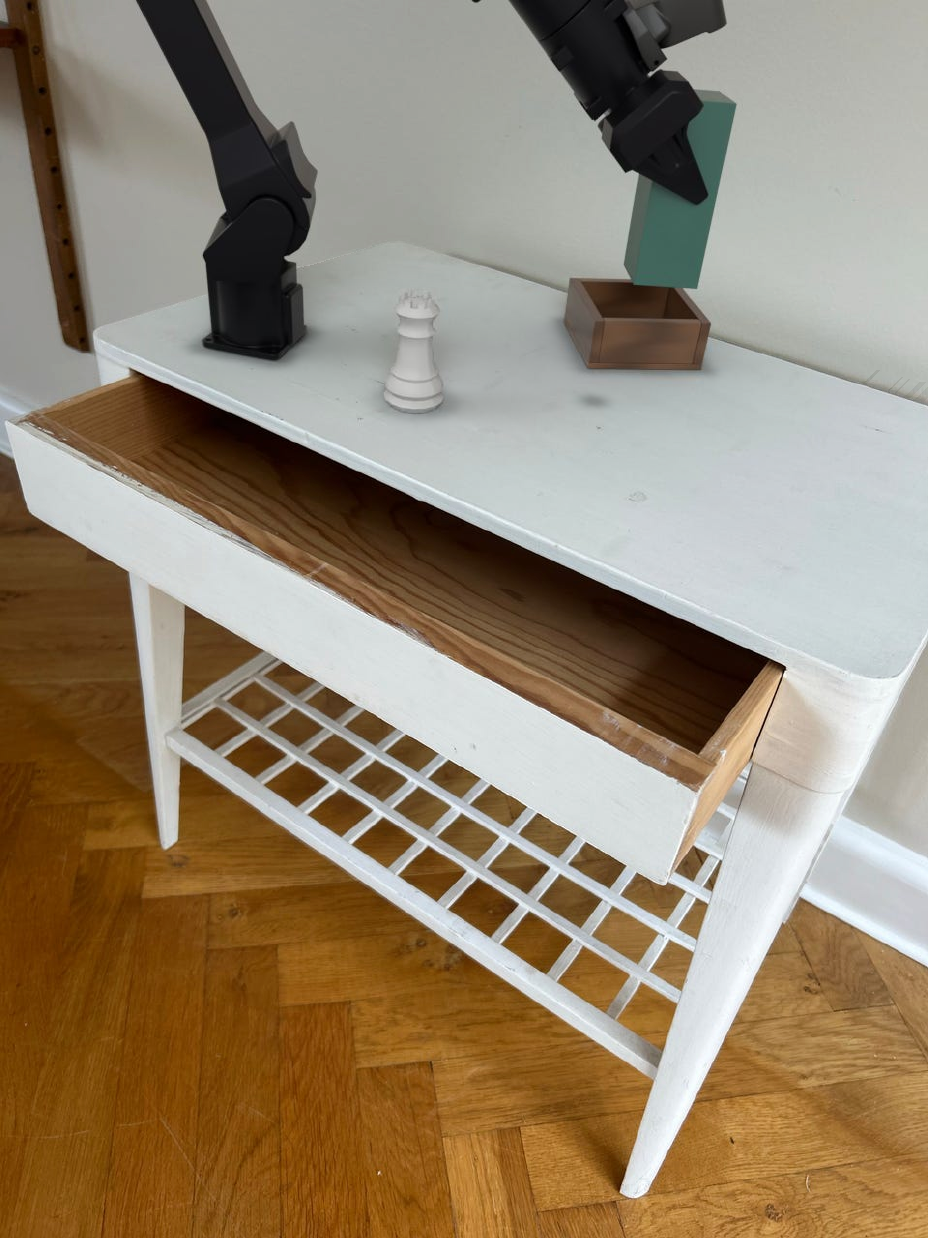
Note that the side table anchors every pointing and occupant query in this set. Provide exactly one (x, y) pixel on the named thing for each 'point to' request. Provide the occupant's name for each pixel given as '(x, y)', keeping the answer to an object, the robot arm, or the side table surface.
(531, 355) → the side table surface
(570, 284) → the walnut holder
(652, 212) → the box
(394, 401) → the rook chess piece
